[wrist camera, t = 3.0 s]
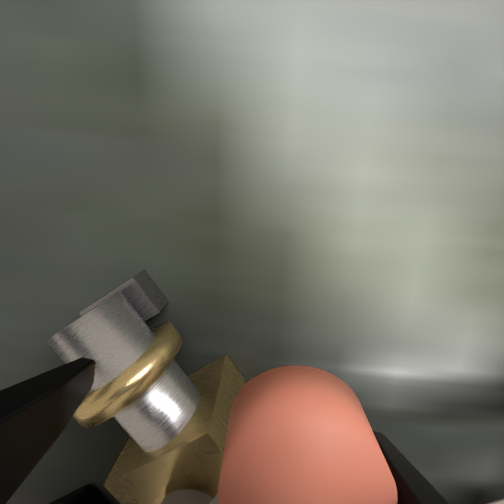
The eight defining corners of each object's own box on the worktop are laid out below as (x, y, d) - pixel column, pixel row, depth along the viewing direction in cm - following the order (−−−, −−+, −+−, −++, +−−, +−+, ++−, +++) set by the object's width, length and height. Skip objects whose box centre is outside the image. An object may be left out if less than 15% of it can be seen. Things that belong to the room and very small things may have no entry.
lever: (216, 550, 12) (196, 699, 9) (134, 509, 12) (78, 647, 8) (373, 377, 10) (437, 487, 6) (275, 317, 9) (281, 396, 6)
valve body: (328, 492, 19) (358, 630, 13) (258, 521, 20) (255, 661, 14) (157, 261, 15) (90, 305, 9) (82, 310, 16) (-21, 378, 10)
